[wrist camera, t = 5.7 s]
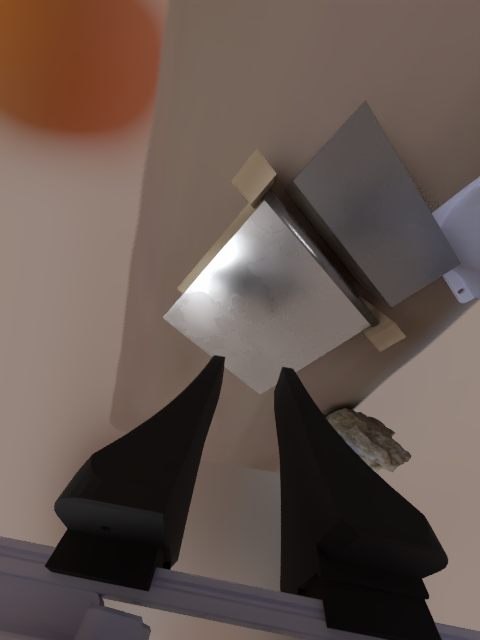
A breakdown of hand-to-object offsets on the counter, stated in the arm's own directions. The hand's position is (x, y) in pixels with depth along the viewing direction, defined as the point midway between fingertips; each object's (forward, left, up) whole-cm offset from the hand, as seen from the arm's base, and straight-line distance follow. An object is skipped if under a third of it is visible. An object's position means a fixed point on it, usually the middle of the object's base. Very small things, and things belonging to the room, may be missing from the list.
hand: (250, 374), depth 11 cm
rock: (-16, +3, -4) cm, 17 cm away
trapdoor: (0, -7, -6) cm, 9 cm away
